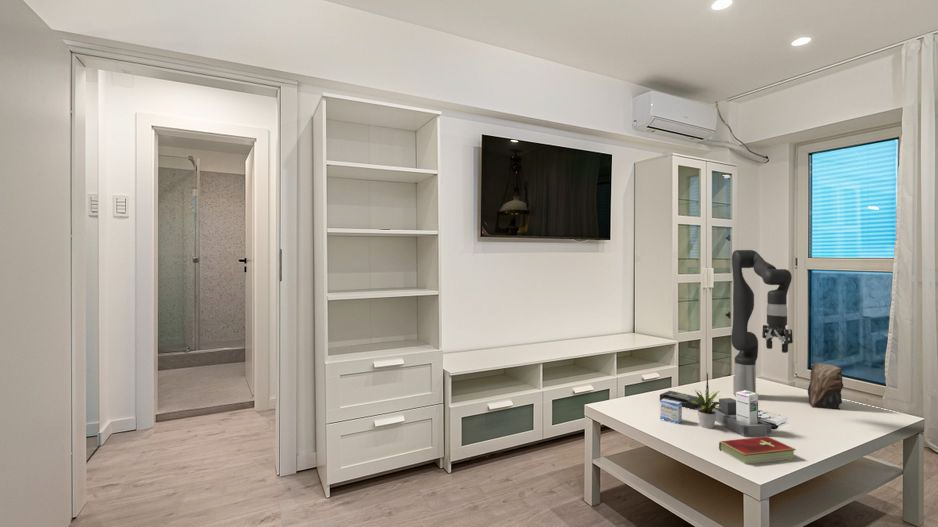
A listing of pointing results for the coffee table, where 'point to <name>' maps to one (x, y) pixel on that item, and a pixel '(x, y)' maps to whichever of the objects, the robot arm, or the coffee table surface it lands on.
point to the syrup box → (747, 407)
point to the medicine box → (671, 410)
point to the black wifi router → (683, 398)
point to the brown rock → (825, 386)
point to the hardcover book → (756, 450)
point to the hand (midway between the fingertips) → (776, 350)
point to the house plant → (707, 410)
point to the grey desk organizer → (729, 420)
